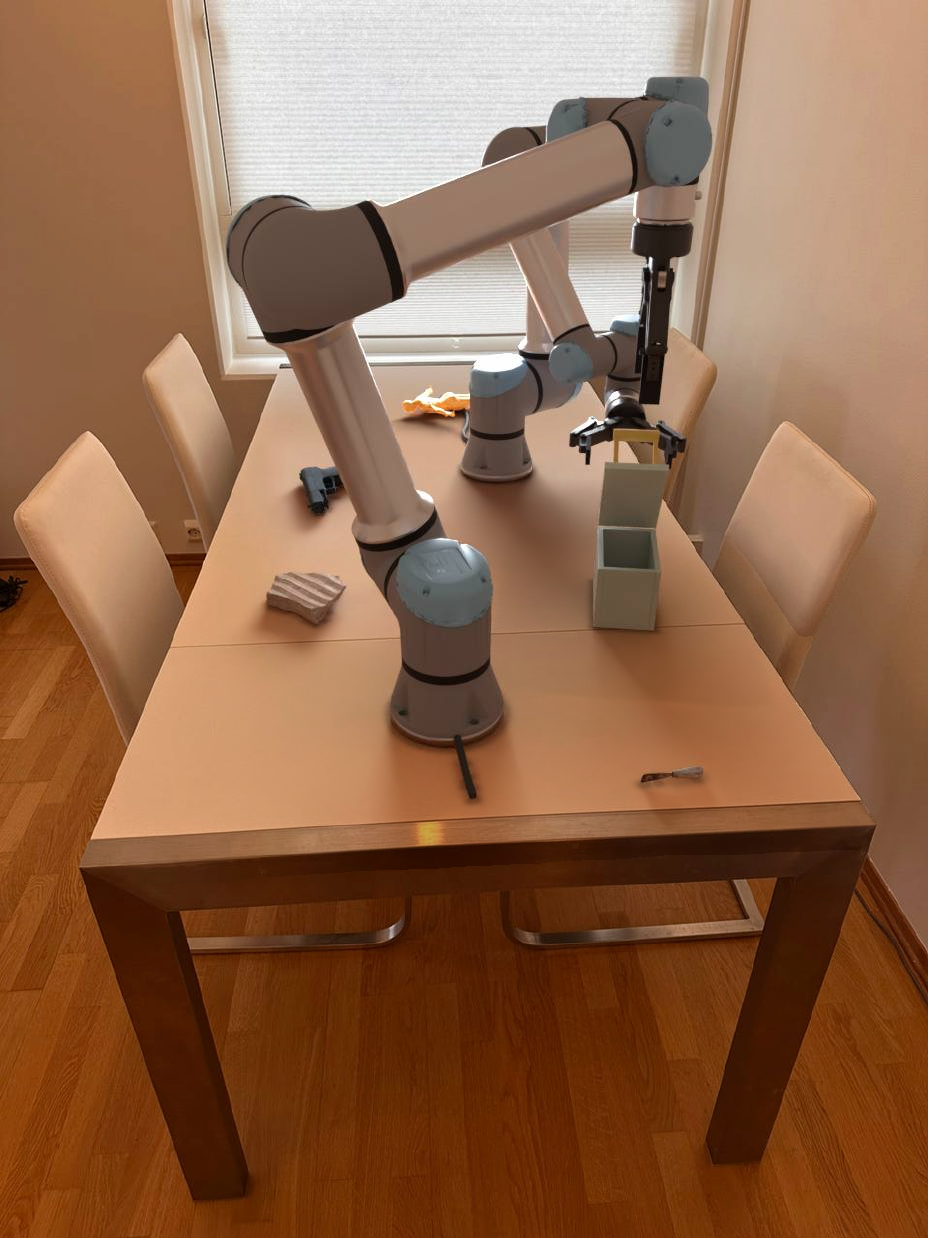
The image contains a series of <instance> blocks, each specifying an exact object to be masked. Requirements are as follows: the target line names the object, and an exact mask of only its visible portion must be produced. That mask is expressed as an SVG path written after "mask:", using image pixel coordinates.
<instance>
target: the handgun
mask: <svg viewBox="0 0 928 1238" xmlns="http://www.w3.org/2000/svg"><path fill="white" fill-rule="evenodd" d="M298 475H299V480H300V481H301V482H302V485H303V488H304V493H305V495H306V499H307V500H308V505H306V508H308V509H310V510H311V512H312V514H314V515H322V514H324V513H325V508H326V509H327V511H328V510H329V509H330V507H329V506H330V505H329V498H328V496H332V495H335V494H336V492H337V491H336V488H340V487H344V485H343V482H342V480H341V478H340V475H339V473H338V471H337V469H336V466H335V465H333V466H330V467H326V468H320V467H318V466H308V467H303V468H302V469H301V470H300V472H298Z"/></svg>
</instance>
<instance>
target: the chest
mask: <svg viewBox="0 0 928 1238" xmlns="http://www.w3.org/2000/svg"><path fill="white" fill-rule="evenodd" d="M656 529H657V528H639V527H618V526H598V525H597V529H596V530H597V531H596V542H595V553H594V554H595V555H594V565H593V579H592V612H593V613H592V627H593V628H601V629H618V630H633V631H635V630H636V631H650V632H651V631H652V632H653V631H655V625H656V616H657V610H658V609H657V608H658V601H659V593H660V585H661V577H662V568H661V567H662V566H661V560H660V554H659V545H658V537H657V530H656Z"/></svg>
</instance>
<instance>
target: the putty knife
mask: <svg viewBox="0 0 928 1238" xmlns="http://www.w3.org/2000/svg"><path fill="white" fill-rule="evenodd" d="M704 772H705V771H704V768H702V767H701V766H697V765H695V766H688V767H683V768H679V769H675V770H673V771H671V772H653V773H652V772H651V773H650V772H649V773H644V774H642V776H641V779H640V783H642V784H645V783H648V782H653V781H659V780H665V779H668V778H673V779H674V778H675V779H693V778H694V779H695V778H700V777H702V776H703V775H704Z"/></svg>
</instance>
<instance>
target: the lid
mask: <svg viewBox="0 0 928 1238" xmlns="http://www.w3.org/2000/svg"><path fill="white" fill-rule="evenodd" d="M659 436H660V431H659V430H637V429H614V430H613V441H612V442H613V455H612V456H613V461H612V462H611V461H605V462H604V467H603V475H602V484H601V493H600V499H599V500H600V502H599V508H598V509H599V511H598V518H597V527H598V526H600V527H620V528H641V529H657V526H658V523H659V517H660V514H661V513H660V512H661V508H662V504H663V500H664V494H665V490H666V487H667V481H668V477H669V472H670V469H669V465H666V464H664V463H663V464H662V463H661V464H660V463H659V448H658V442H659ZM623 441H626V442H633V443H635V442H636V443H639V442H653V446H652V463H638V462H619V454H620V453H619V450H620V449H619V448H620V447H619V446H620V442H623Z"/></svg>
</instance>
